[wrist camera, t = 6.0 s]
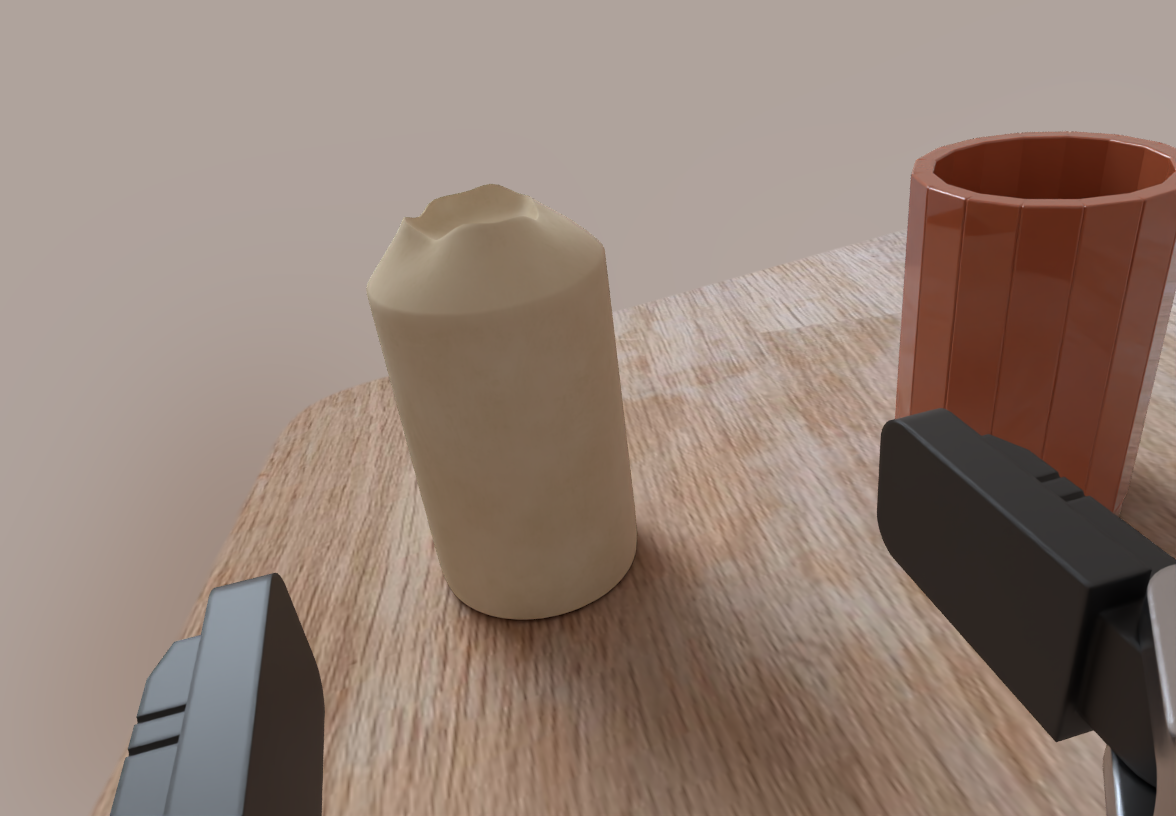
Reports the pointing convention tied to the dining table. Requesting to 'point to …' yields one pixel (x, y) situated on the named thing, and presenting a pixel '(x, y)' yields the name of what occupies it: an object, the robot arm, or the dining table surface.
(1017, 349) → the terracotta cup
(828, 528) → the dining table surface
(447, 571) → the candle
